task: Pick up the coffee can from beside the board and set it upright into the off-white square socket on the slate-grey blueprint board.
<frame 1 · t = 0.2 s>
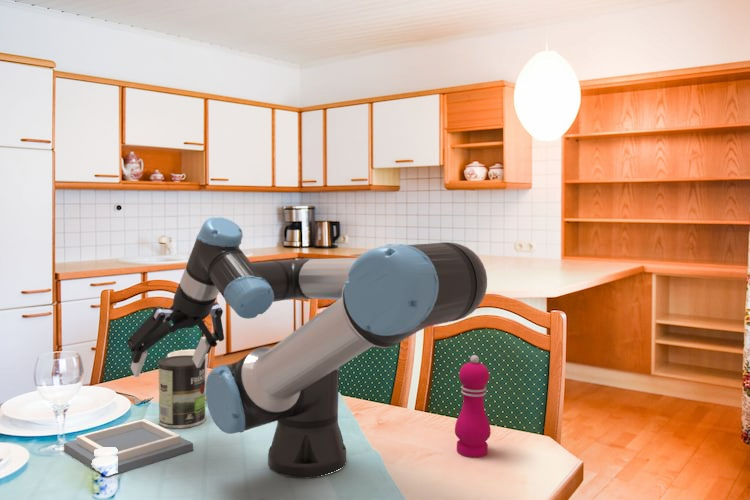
hand: (166, 367, 135), 16 cm above the table, tool tilted 35°, fingers open, 13 cm apart
blueprint board: (128, 450, 131), on the table
pepper mill: (472, 452, 133), on the table
candle holder: (188, 401, 164), on the table
coffee can: (182, 421, 149), on the table
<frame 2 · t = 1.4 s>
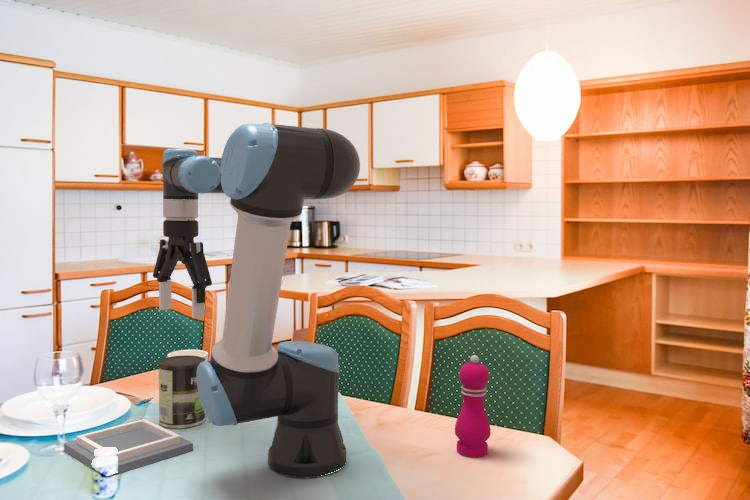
hand: (181, 313, 147), 25 cm above the table, tool pointing down, fingers open, 13 cm apart
nothing on the table moved.
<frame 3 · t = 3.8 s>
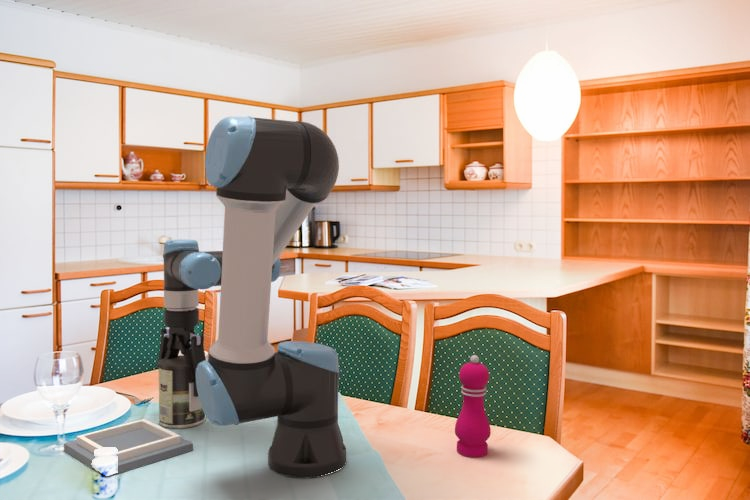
hand: (182, 404, 149), 4 cm above the table, tool pointing down, fingers closed on coffee can, 10 cm apart
coffee can: (182, 421, 149), on the table, touching gripper
everything else where it was.
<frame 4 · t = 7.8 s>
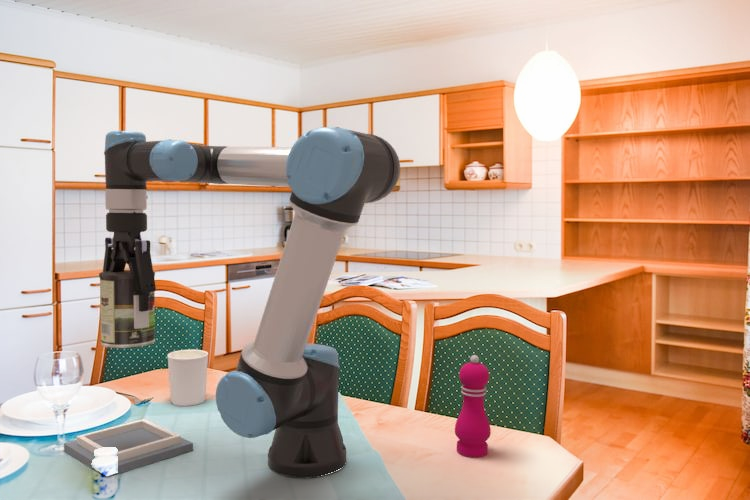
hand: (128, 323, 129), 26 cm above the table, tool pointing down, fingers closed on coffee can, 10 cm apart
coffee can: (128, 343, 130), point 22 cm above the table, touching gripper
everything else where it was.
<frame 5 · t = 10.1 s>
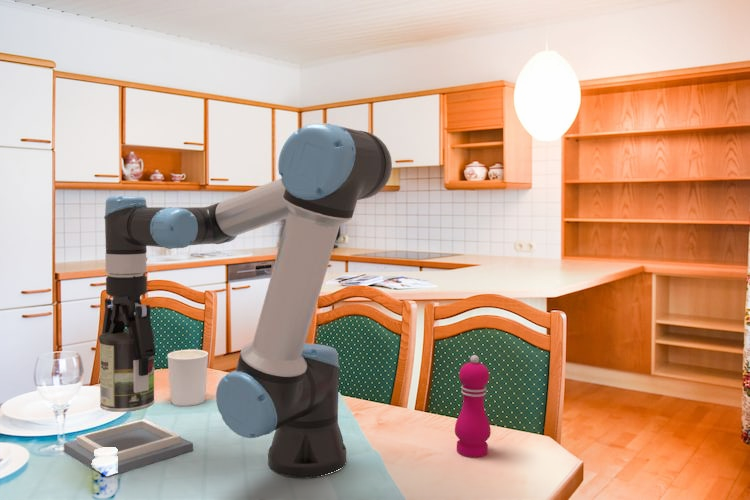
hand: (127, 385, 130), 13 cm above the table, tool pointing down, fingers closed on coffee can, 10 cm apart
coffee can: (127, 405, 130), point 9 cm above the table, touching gripper
everything else where it was.
when the fingers open (6 cm above the table, at t = 12.1 s): coffee can drops 1 cm, resting on blueprint board.
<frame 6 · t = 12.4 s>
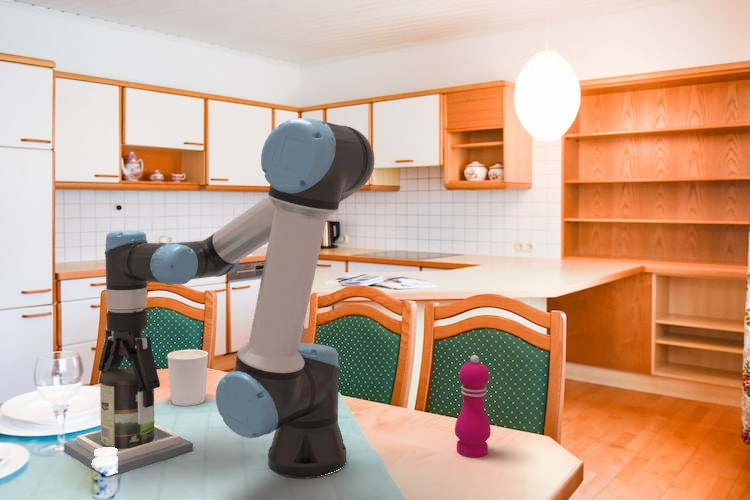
hand: (128, 414, 131), 7 cm above the table, tool pointing down, fingers open, 13 cm apart
coffee can: (128, 443, 131), point 1 cm above the table, touching blueprint board
everything else where it was.
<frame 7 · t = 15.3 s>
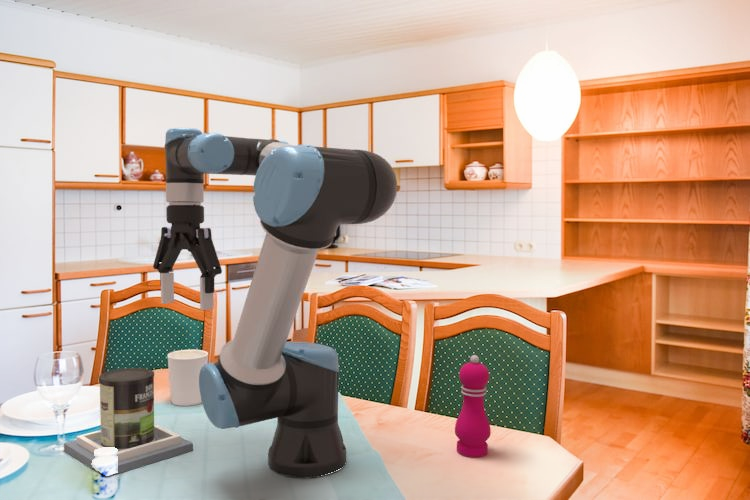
hand: (186, 306, 137), 28 cm above the table, tool pointing down, fingers open, 13 cm apart
nothing on the table moved.
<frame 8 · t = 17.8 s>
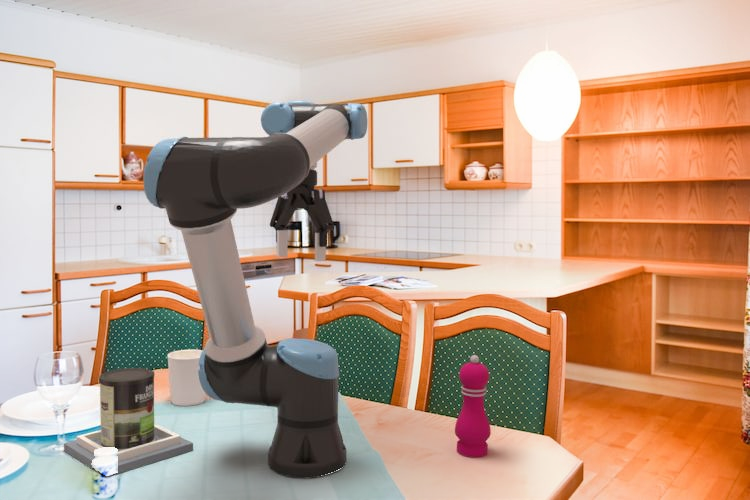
hand: (300, 258, 155), 37 cm above the table, tool pointing down, fingers open, 13 cm apart
nothing on the table moved.
at the end: coffee can 0.2 cm off-centre on the blueprint board, point 1.3 cm above the blueprint board's base; coffee can tilted 0°; the gripper is holding nothing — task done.
